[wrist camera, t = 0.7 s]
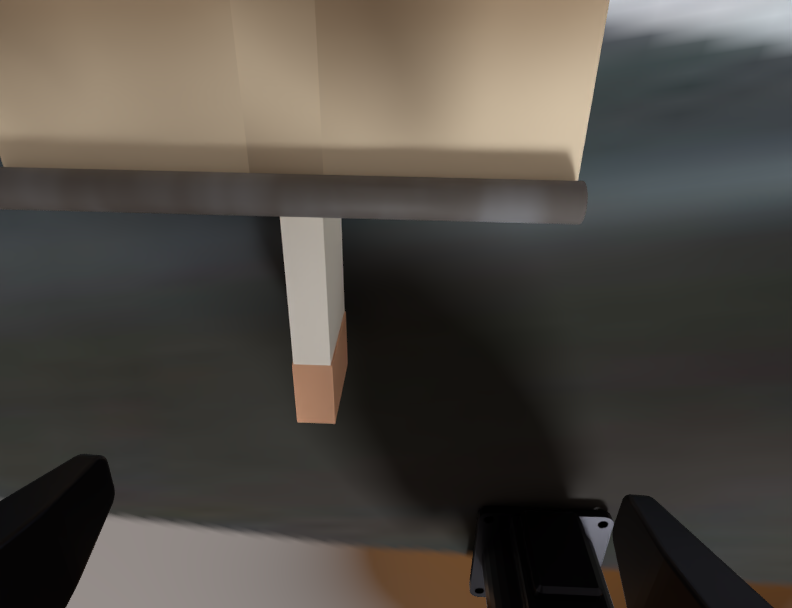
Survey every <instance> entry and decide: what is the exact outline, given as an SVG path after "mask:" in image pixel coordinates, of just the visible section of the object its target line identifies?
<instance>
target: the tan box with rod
mask: <svg viewBox="0 0 792 608" xmlns="http://www.w3.org/2000/svg"><path fill="white" fill-rule="evenodd" d="M608 6H609V0H0V157H1V160H2V163H3V166H4V167H0V209H12V210H50V211H88V212H126V213H164V214H202V215H240V216H278V217H316V218H354V219H392V220H430V221H468V222H506V223H544V224H581V223H582V221H583V219H584V217H585V213H586V209H587V200H588V193H587V186H586V183H585V182H584V181H578V177H579V171H580V165H581V160H582V154H583V148H584V143H585V137H586V131H587V126H588V120H589V114H590V108H591V103H592V97H593V91H594V86H595V80H596V74H597V69H598V63H599V57H600V52H601V46H602V40H603V35H604V29H605V23H606V17H607V12H608Z"/></svg>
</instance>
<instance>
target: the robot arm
mask: <svg viewBox="0 0 792 608" xmlns="http://www.w3.org/2000/svg"><path fill="white" fill-rule="evenodd" d="M114 495H115V490H114V485H113V481H112V477H111V473H110V469H109V465H108V462H107V459H106V458H105V457H104V456H101V455H90V454H80V455H77V456H75V457H73V458H72V459H70V460H68V461H67V462H65V463H63V464H62V465H60V466H58V467H57V468H55V469H53V470H52V471H50V472H48V473H47V474H45V475H43V476H42V477H40V478H38V479H36V480H35V481H33V482H31V483H30V484H28V485H26V486H25V487H23V488H21V489H20V490H18V491H16V492H15V493H13V494H11V495H10V496H8V497H6V498H5V499H3V500H1V501H0V608H65V607H66V606H67V604H68V602H69V600H70V598H71V596H72V594H73V592H74V591H75V589H76V586H77V584H78V582H79V580H80V578H81V576H82V574H83V571H84V569H85V566H86V564H87V562H88V559H89V557H90V555H91V553H92V550H93V548H94V546H95V543H96V541H97V539H98V536H99V534H100V532H101V529H102V527H103V525H104V522H105V520H106V518H107V516H108V513H109V511H110V509H111V506H112V504H113V500H114ZM488 516H490V517H488ZM613 524H614V527H613ZM612 528H613V543H614V548H615V553H616V557H617V562H618V567H619V572H620V577H621V581H622V586H623V591H624V596H625V600H626V605H627V608H773V607H772V606H771V605H770V604H769V603H768V602H767V601H765V599H763V598H762V597H761V596H760V595H759V594H758V593H757V592H756V591H755V590H754V589H752V588H751V587H750V586H749V585H748V584H747V583H746V582H745V581H744V580H743V579H741V578H740V577H739V576H738V575H737V574H736V573H735V572H734V571H733V570H732V569H731V568H729V567H728V566H727V565H726V564H725V563H724V562H723V561H722V560H721V559H720V558H718V557H717V556H716V555H715V554H714V553H713V552H712V551H711V550H710V549H709V548H707V547H706V546H705V545H704V544H703V543H702V542H701V541H700V540H699V539H698V538H696V537H695V536H694V535H693V534H692V533H691V532H690V531H689V530H688V529H687V528H685V527H684V526H683V525H682V524H681V523H680V522H679V521H678V520H677V519H676V518H674V517H673V516H672V515H671V514H670V513H669V512H668V511H667V510H666V509H665V508H664V507H662V506H661V505H660V504H659V503H658V502H657V501H656V500H655V499H653V498H652V497H650V496H644V495H631V494H629V495H626V496H625V497H624V498H623V500H622V503H621V506H620V509H619V512H618V515H617V518H616V520H615V523H614V522H613V520H612V517H611V515H610V513H608V512H606V511H596V510H572V509H548V508H523V507H499V506H485V507H483V508H481V509H480V510H479V512H478V518H477V526H476V534H475V542H474V550H473V558H472V566H471V574H470V582H469V583H470V584H469V585H470V593H471V594H472V595H474V596H477V597H486V602H487V608H614V606H613V603H612V600H611V597H610V594H609V591H608V588H607V585H606V582H605V579H604V576H603V573H602V570H601V565H602V562H603V558H604V555H605V552H606V548H607V545H608V542H609V538H610V535H611V532H612Z"/></svg>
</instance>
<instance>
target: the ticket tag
mask: <svg viewBox="0 0 792 608" xmlns="http://www.w3.org/2000/svg"><path fill="white" fill-rule="evenodd" d="M280 224H281V234H282V245H283V256H284V267H285V278H286V289H287V300H288V310H289V321H290V332H291V343H292V354H293V363H292V370H293V381H294V392H295V402H296V413H297V422H302V423H329V424H335V422H336V417H337V413H338V408H339V403H340V398H341V394H342V389H343V384H344V379H345V374H346V370H347V365H348V358H347V329H346V311H345V309H344V281H343V253H342V226H341V218H316V217H280Z"/></svg>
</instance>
